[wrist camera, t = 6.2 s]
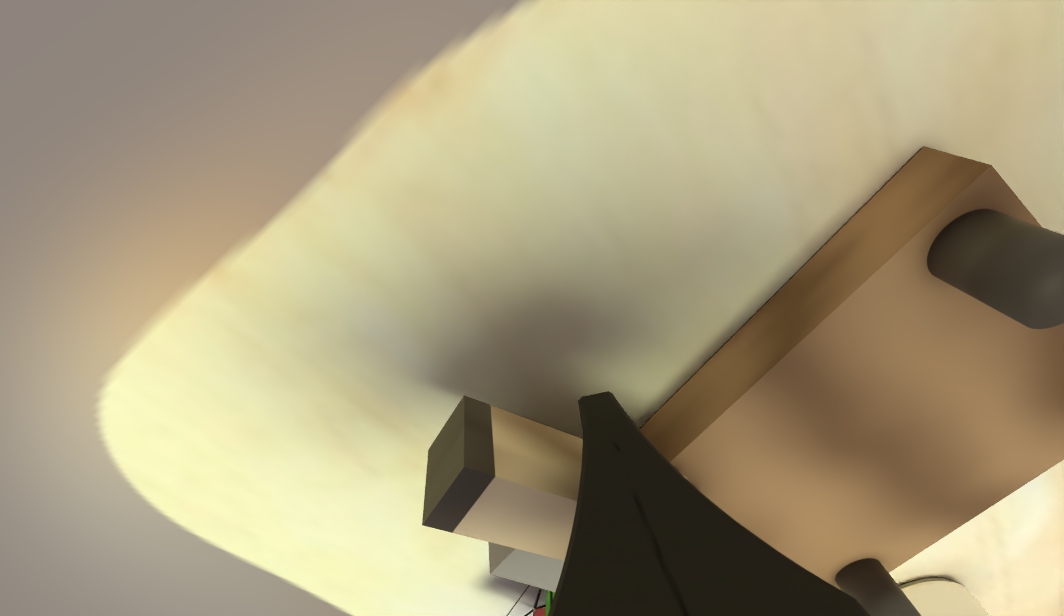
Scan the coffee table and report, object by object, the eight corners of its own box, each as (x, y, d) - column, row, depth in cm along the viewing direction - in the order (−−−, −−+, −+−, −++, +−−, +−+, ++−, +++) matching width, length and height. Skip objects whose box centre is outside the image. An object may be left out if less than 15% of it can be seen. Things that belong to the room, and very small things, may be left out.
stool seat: (923, 146, 13) (1110, 198, 9) (1108, 354, 19) (1275, 441, 15) (604, 463, 18) (642, 581, 14) (821, 556, 24) (890, 660, 20)
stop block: (506, 421, 17) (518, 545, 13) (594, 459, 18) (631, 580, 14) (484, 447, 17) (490, 574, 13) (572, 482, 19) (601, 605, 15)
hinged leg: (428, 449, 14) (419, 556, 11) (464, 395, 13) (464, 496, 10) (677, 527, 17) (718, 624, 14) (719, 488, 16) (770, 583, 13)
